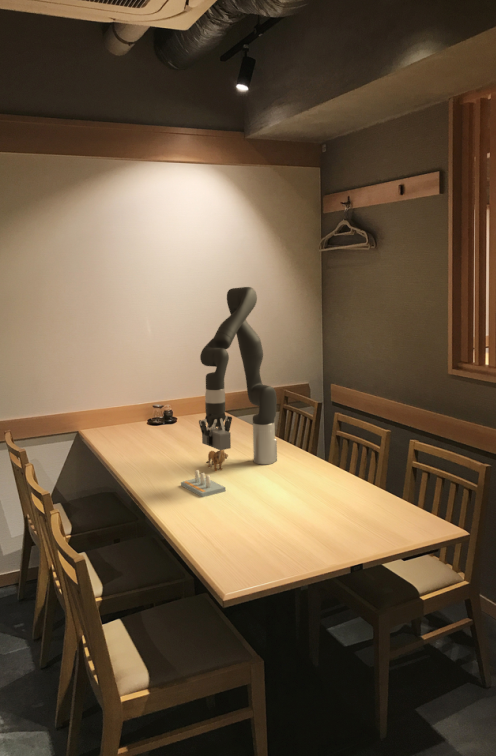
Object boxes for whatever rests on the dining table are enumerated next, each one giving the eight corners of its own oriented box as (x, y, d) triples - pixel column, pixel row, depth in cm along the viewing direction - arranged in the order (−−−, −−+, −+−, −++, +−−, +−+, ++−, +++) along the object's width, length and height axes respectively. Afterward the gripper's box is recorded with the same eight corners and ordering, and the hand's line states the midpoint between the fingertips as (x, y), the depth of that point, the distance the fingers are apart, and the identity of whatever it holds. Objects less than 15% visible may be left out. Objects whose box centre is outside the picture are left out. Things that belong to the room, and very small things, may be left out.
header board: (203, 480, 254) (202, 465, 253) (225, 491, 241) (225, 475, 240) (181, 485, 249) (180, 470, 248) (202, 497, 236) (201, 481, 235)
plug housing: (212, 441, 252) (212, 426, 251) (230, 448, 242) (230, 432, 241) (202, 443, 250) (202, 427, 249) (220, 450, 239) (220, 434, 238)
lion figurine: (230, 471, 265) (229, 450, 263) (219, 473, 262) (218, 452, 260) (211, 462, 276) (210, 442, 275) (200, 465, 273) (199, 444, 272)
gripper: (225, 396, 250) (226, 439, 253) (193, 401, 242) (194, 445, 245) (236, 399, 244) (237, 443, 247) (204, 404, 236) (205, 449, 238)
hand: (216, 444), depth 246 cm, fingers closed on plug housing, 4 cm apart
